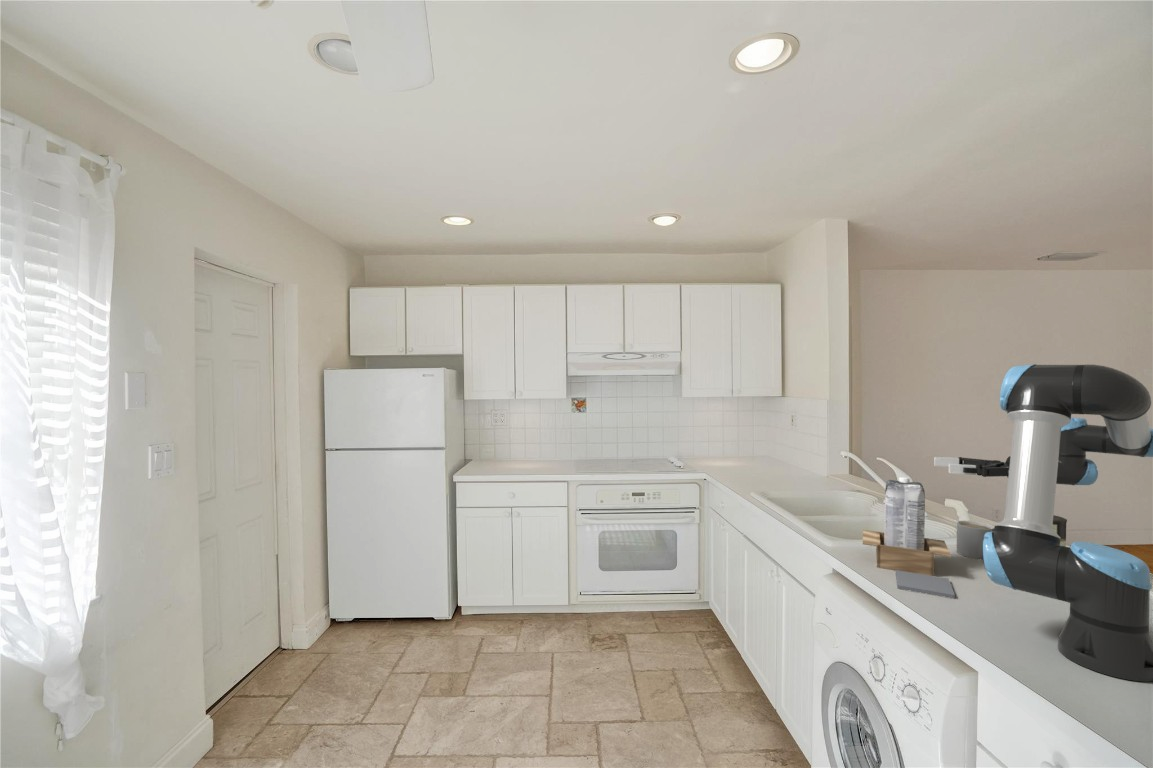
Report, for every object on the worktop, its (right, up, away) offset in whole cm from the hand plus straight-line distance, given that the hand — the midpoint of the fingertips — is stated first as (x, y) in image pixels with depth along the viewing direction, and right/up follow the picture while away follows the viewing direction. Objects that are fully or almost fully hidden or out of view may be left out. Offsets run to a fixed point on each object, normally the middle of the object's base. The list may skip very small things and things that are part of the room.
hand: (941, 464), depth 162 cm
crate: (-9, -32, +4) cm, 33 cm away
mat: (-14, -32, -13) cm, 37 cm away
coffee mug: (+21, -32, +12) cm, 40 cm away
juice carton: (-9, -32, +4) cm, 34 cm away
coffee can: (+39, -32, +8) cm, 51 cm away
